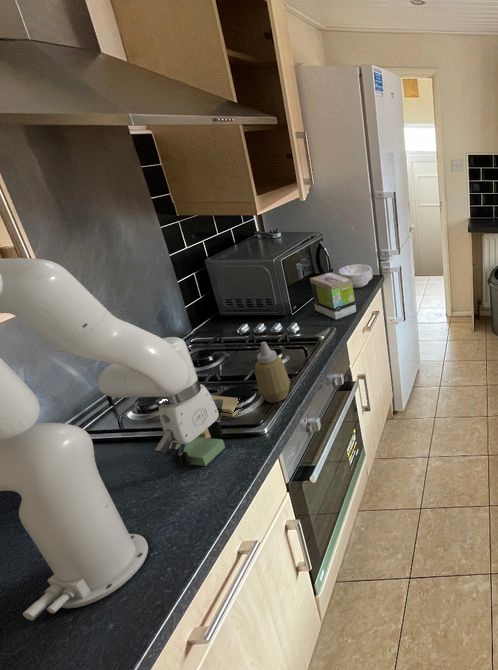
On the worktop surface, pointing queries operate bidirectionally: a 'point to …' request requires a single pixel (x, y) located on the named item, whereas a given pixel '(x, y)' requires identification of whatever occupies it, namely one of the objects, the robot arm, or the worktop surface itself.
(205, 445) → the green pad
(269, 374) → the squeeze bottle
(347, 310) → the tea box
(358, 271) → the paper bowls
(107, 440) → the worktop surface
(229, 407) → the beige pad
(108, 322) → the robot arm
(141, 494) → the worktop surface
